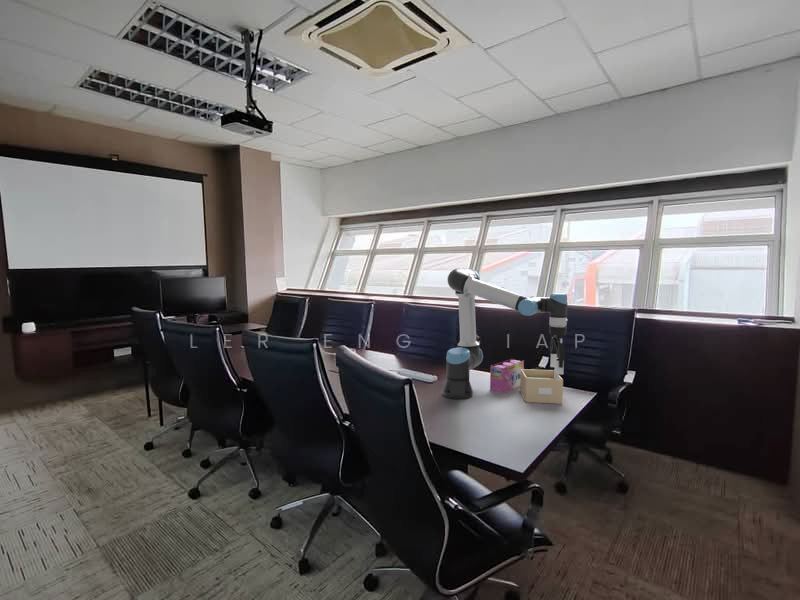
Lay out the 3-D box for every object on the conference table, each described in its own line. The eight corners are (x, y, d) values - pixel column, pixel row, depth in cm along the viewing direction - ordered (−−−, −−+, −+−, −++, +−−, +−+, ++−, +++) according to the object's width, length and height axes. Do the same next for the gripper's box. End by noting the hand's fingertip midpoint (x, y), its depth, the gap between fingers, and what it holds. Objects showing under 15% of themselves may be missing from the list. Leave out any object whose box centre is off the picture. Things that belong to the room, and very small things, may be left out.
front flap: (526, 402, 190) (527, 358, 188) (525, 401, 192) (526, 357, 190) (562, 404, 188) (564, 359, 186) (561, 402, 190) (563, 358, 188)
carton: (525, 401, 192) (525, 377, 191) (520, 391, 208) (520, 368, 208) (561, 403, 189) (562, 379, 188) (553, 392, 206) (554, 369, 205)
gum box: (512, 381, 227) (513, 358, 226) (525, 384, 221) (526, 360, 220) (489, 390, 210) (490, 365, 209) (502, 393, 204) (503, 368, 203)
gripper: (573, 330, 173) (572, 377, 175) (559, 322, 198) (558, 364, 199) (555, 329, 174) (554, 377, 176) (544, 322, 199) (543, 363, 201)
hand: (556, 370), depth 188 cm, fingers open, 12 cm apart
